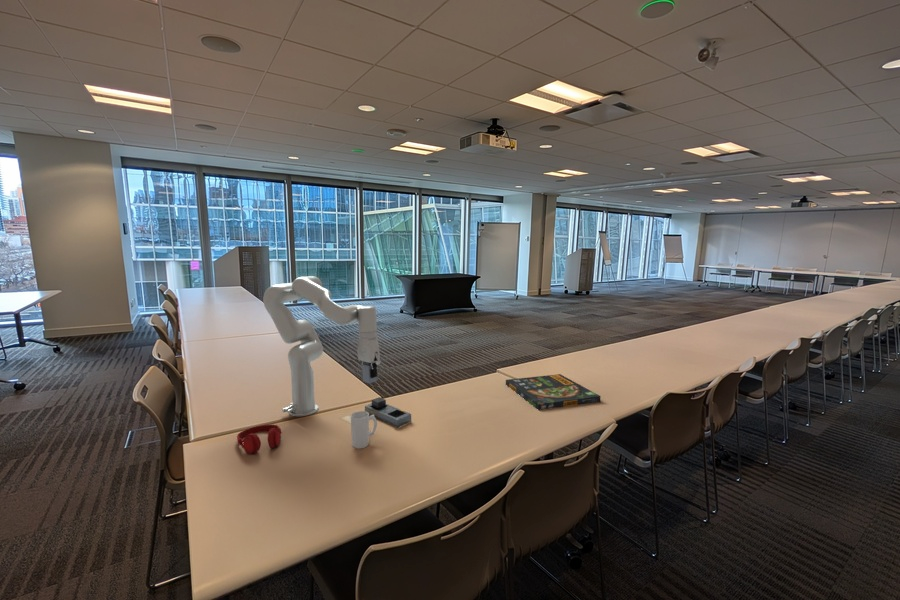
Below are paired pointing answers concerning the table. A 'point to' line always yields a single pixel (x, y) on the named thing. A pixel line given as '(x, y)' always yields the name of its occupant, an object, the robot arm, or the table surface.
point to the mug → (361, 428)
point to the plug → (367, 373)
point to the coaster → (347, 419)
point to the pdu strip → (388, 413)
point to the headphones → (253, 441)
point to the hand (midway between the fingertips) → (370, 375)
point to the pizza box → (552, 391)
